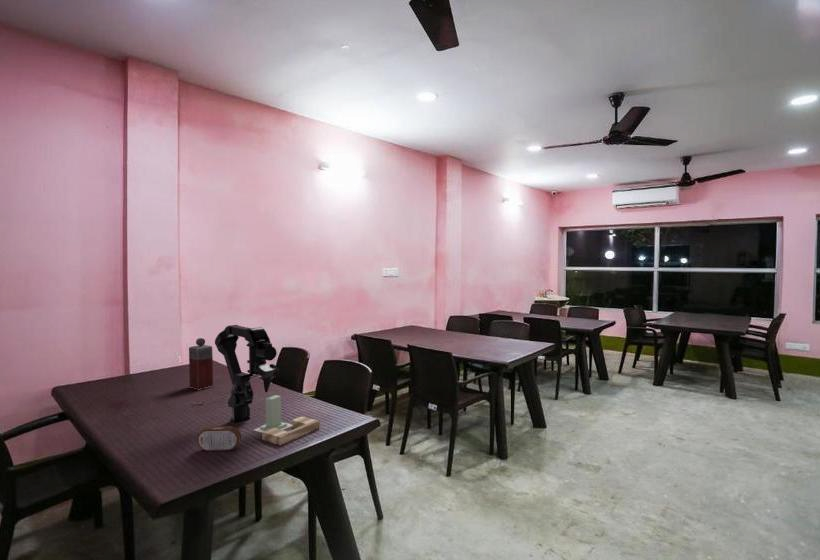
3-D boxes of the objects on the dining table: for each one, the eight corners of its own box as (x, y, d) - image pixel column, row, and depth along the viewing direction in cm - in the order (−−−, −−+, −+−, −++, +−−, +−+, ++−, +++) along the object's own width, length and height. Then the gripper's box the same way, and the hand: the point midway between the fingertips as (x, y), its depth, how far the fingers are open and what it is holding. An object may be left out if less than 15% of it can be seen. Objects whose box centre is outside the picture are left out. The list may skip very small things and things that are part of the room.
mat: (253, 430, 167) (253, 429, 167) (277, 421, 178) (277, 420, 178) (269, 435, 162) (269, 434, 162) (293, 426, 172) (293, 425, 172)
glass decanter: (202, 383, 241) (201, 336, 241) (213, 386, 235) (212, 337, 234) (187, 387, 234) (186, 338, 233) (197, 390, 227) (196, 339, 227)
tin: (241, 447, 151) (241, 424, 151) (238, 451, 148) (238, 428, 148) (200, 448, 151) (199, 425, 151) (196, 452, 148) (195, 429, 148)
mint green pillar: (260, 428, 168) (259, 398, 168) (276, 422, 175) (275, 393, 175) (271, 432, 165) (270, 401, 164) (287, 425, 171) (286, 396, 171)
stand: (262, 439, 158) (262, 431, 158) (301, 423, 175) (301, 416, 175) (280, 445, 153) (280, 437, 153) (319, 428, 170) (319, 420, 169)
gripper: (249, 364, 161) (249, 403, 161) (287, 355, 176) (287, 392, 176) (231, 361, 167) (232, 399, 167) (270, 353, 182) (270, 388, 183)
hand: (257, 394), depth 173 cm, fingers open, 9 cm apart
